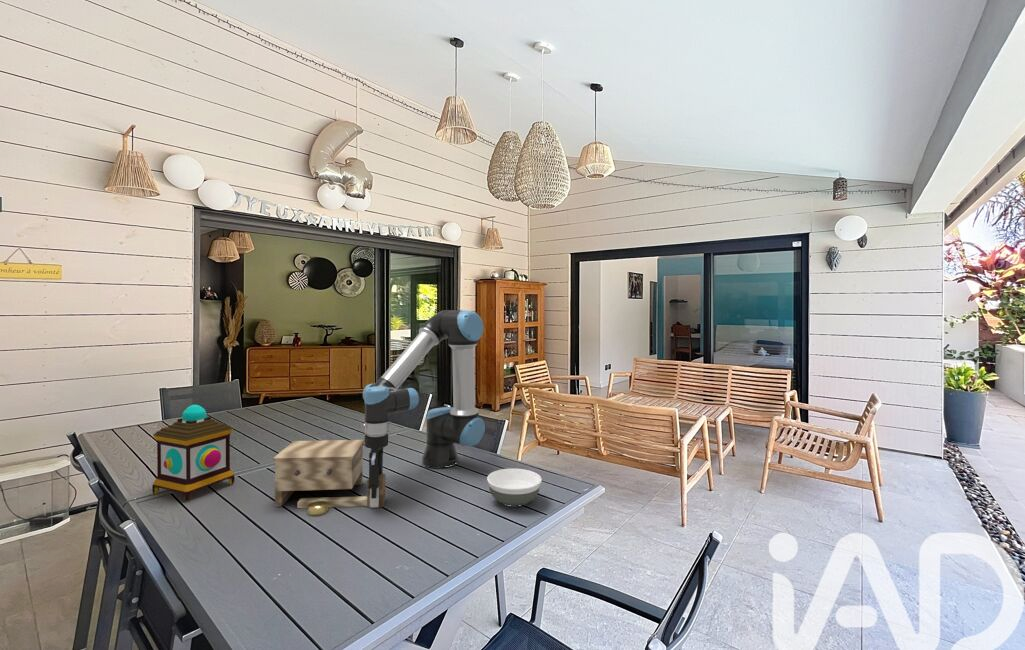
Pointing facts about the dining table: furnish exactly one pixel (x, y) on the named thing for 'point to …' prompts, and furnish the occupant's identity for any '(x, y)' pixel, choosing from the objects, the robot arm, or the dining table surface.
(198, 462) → the decorative lantern
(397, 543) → the dining table surface
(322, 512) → the puck
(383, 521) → the dining table surface
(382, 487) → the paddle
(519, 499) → the bowl
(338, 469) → the cabinet
